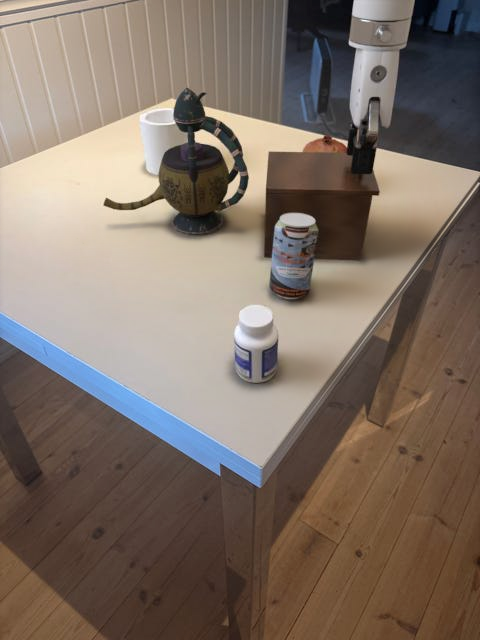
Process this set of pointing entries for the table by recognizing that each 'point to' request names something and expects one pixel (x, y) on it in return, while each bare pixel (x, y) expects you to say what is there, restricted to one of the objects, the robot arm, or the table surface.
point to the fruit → (325, 145)
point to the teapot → (196, 172)
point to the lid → (317, 174)
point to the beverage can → (293, 255)
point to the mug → (159, 136)
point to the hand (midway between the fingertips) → (358, 162)
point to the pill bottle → (256, 344)
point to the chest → (323, 221)
